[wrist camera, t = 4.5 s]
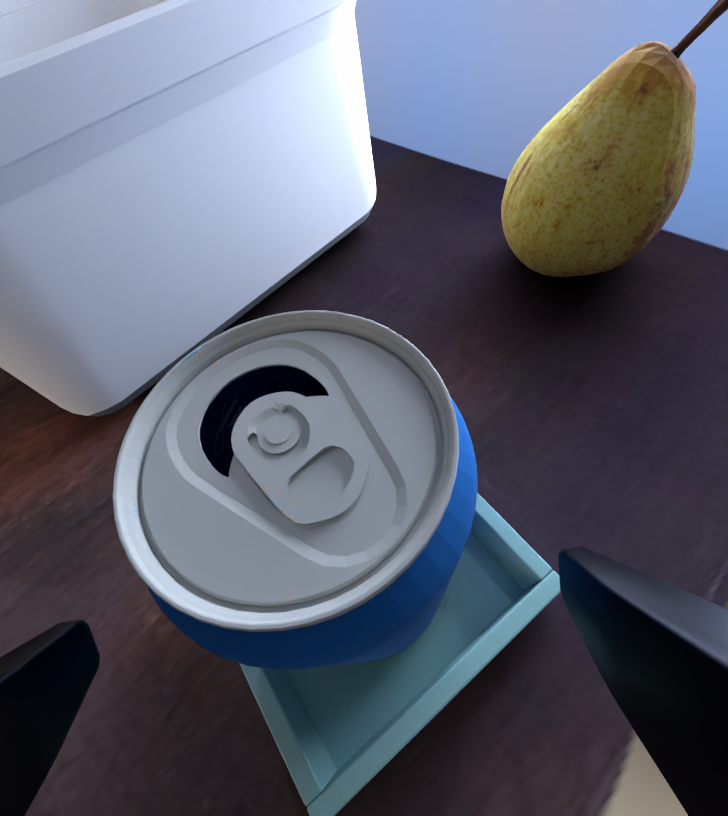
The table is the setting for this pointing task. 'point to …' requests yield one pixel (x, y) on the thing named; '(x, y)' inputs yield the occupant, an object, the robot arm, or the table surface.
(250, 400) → the beverage can
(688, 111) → the fruit
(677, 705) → the robot arm
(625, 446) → the table surface
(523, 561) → the pan
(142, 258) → the white storage bin
